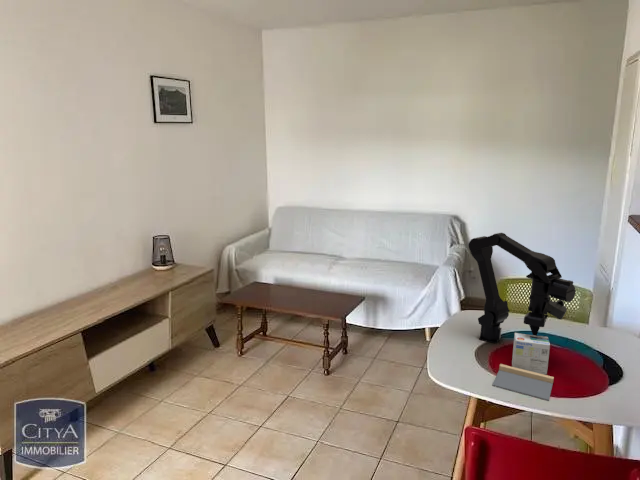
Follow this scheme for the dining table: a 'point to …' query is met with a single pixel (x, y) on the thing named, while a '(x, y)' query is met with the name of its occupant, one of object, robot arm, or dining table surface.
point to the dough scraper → (524, 382)
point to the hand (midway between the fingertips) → (534, 335)
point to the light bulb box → (531, 353)
